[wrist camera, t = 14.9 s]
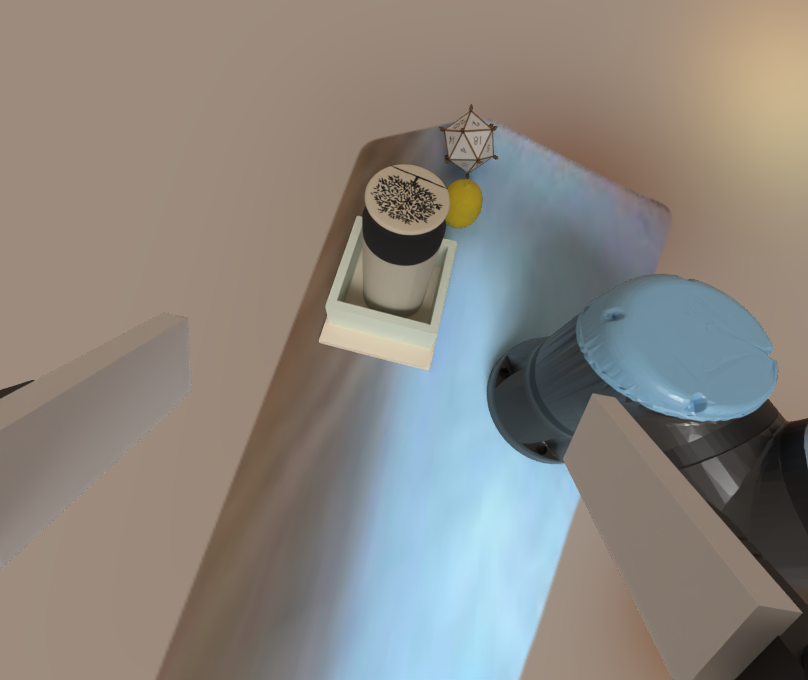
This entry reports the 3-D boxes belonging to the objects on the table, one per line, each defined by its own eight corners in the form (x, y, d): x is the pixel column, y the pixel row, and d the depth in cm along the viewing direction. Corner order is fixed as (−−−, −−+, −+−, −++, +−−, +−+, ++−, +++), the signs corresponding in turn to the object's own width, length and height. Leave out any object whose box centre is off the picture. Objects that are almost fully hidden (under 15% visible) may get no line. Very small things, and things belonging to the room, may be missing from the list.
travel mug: (403, 332, 48) (424, 251, 31) (351, 300, 49) (343, 204, 32) (434, 286, 51) (469, 188, 34) (384, 257, 52) (393, 147, 35)
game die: (452, 190, 63) (435, 169, 54) (445, 138, 63) (426, 108, 53) (508, 174, 59) (499, 149, 50) (500, 119, 59) (489, 84, 50)
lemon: (466, 244, 55) (482, 207, 47) (430, 230, 55) (441, 190, 47) (477, 216, 57) (495, 176, 49) (443, 202, 57) (455, 160, 49)
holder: (358, 227, 54) (358, 199, 48) (454, 252, 54) (464, 227, 49) (319, 342, 47) (314, 324, 42) (428, 371, 47) (437, 356, 42)
